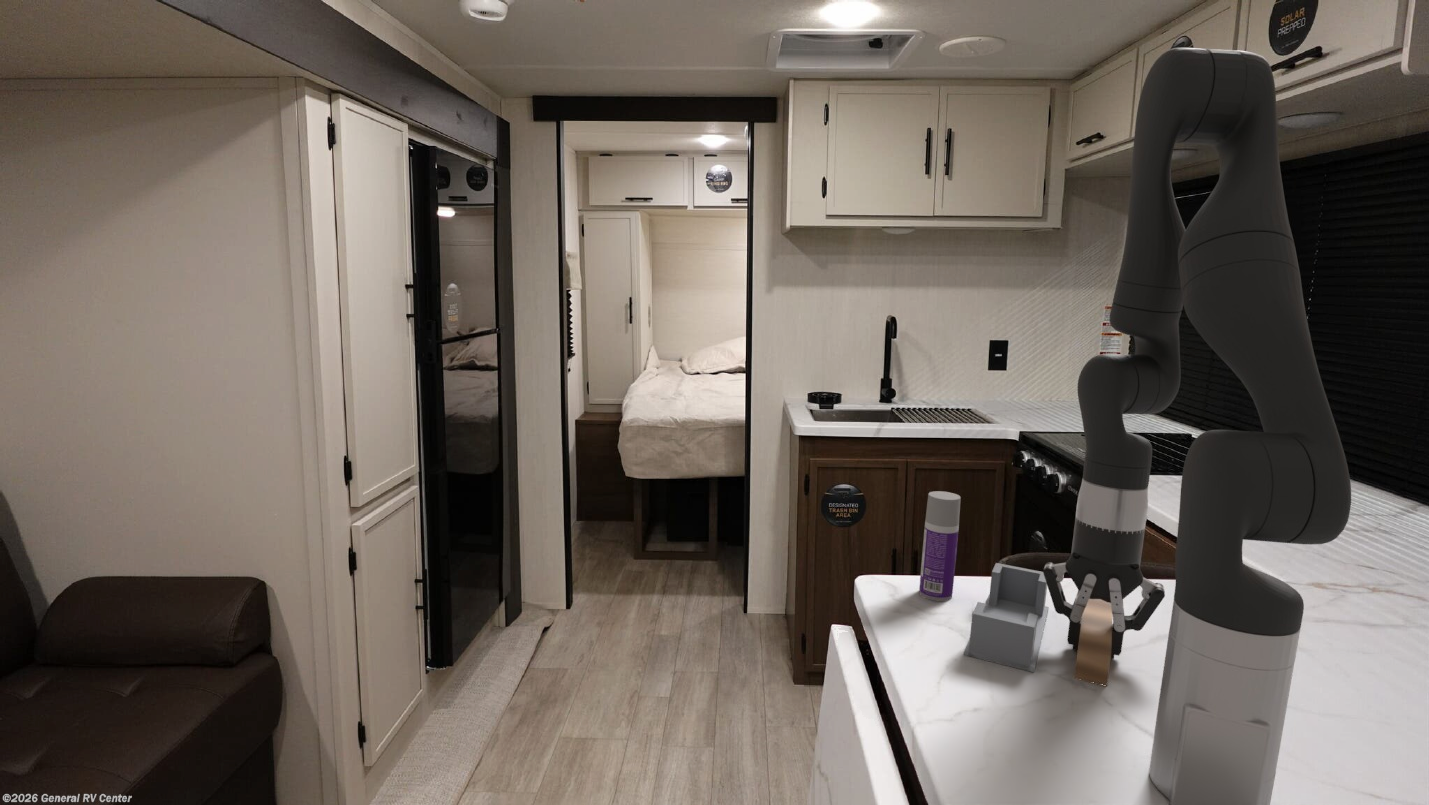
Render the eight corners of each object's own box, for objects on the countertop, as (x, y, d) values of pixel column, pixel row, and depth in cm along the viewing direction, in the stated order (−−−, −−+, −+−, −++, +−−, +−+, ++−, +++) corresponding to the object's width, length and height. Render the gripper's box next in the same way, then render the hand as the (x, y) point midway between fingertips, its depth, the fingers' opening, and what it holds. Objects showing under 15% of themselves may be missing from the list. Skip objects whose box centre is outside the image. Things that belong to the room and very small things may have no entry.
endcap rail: (1034, 672, 90) (1039, 628, 89) (964, 655, 93) (968, 612, 93) (1048, 611, 107) (1052, 573, 106) (988, 598, 111) (992, 562, 110)
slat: (1106, 687, 87) (1111, 655, 87) (1074, 679, 89) (1078, 647, 88) (1109, 629, 101) (1112, 601, 100) (1080, 623, 103) (1084, 595, 102)
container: (959, 599, 110) (968, 498, 108) (932, 603, 108) (941, 501, 106) (938, 586, 115) (947, 490, 112) (912, 590, 113) (920, 492, 110)
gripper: (1044, 516, 92) (1029, 649, 95) (1179, 538, 86) (1159, 681, 88) (1049, 501, 99) (1035, 626, 101) (1175, 521, 92) (1156, 654, 95)
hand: (1093, 651), depth 95 cm, fingers closed on slat, 3 cm apart
